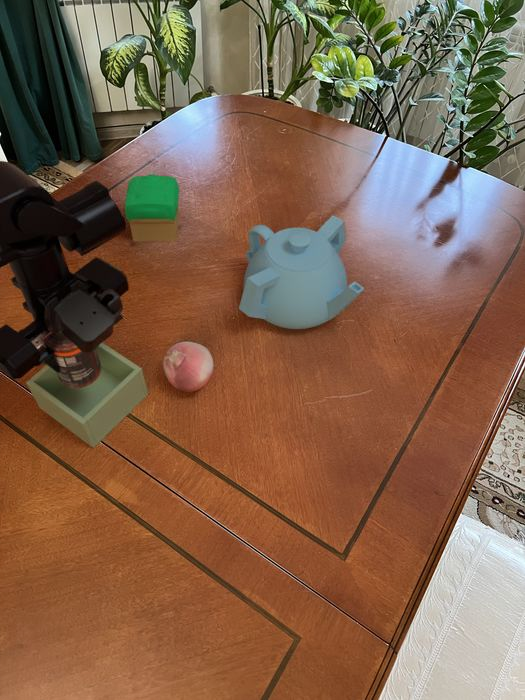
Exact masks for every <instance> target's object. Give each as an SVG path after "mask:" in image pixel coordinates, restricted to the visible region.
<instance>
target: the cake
mask: <svg viewBox="0 0 525 700" xmlns="http://www.w3.org/2000/svg"><path fill="white" fill-rule="evenodd" d="M179 200H180V185H179V183H178V180H177V179H176V178H175V177H174V176H170V175H157V174H151V173H150V174H146V175H139V176H137V175H136V176H134V177H131V178H130V179H129V181H128V184H127V190H126V195H125V203H124V214H125V217H126V221H128V223H129V227H130V231H131V236H132V237H131V238H132V241H133V242H177V239H178V231H179V221H180V220H179V219H180V208H179Z"/></svg>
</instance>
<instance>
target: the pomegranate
mask: <svg viewBox="0 0 525 700" xmlns="http://www.w3.org/2000/svg"><path fill="white" fill-rule="evenodd" d="M214 364H215V363H214V359H213V356H212V354H211V352H210V351H209V349H208V348H207V347H205V346H203V345H202V344H200V343H197V342H194V341H181V342H178V343H175V344H173V345H172V346H171V347H169V349H168V350H167V352H166V353H165V354H164V357H163V365H162V367H163V372H164V374H165V376H166V378H167V380H168V382H169V383H170V384H171V385H172V386H173V387H174V388H175V389H176V390H178V391H181V392H185V393H191V392H192V393H193V392H195V391H198V390H200V389H202V388H203V387H204V386H205V385H206V384H207V383H208V382H209V381H210V379H211V377H212V376H213V374H214V369H215V365H214Z"/></svg>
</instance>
